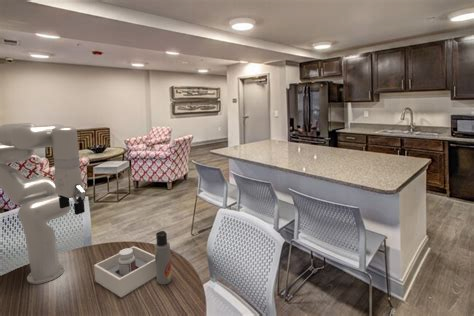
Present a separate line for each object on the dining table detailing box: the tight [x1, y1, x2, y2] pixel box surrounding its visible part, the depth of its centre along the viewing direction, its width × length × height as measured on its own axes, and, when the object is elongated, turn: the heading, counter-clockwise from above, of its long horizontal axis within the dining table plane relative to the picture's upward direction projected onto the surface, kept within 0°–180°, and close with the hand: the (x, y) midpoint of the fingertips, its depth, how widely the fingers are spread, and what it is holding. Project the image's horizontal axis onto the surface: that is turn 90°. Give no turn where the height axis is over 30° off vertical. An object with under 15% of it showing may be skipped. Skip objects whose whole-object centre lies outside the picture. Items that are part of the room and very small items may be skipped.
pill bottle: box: [118, 247, 136, 277], centre depth 113 cm, size 6×6×11 cm
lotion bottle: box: [153, 230, 173, 285], centre depth 110 cm, size 6×6×20 cm
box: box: [93, 245, 157, 298], centre depth 114 cm, size 17×18×7 cm
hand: (72, 210), depth 102 cm, fingers open, 9 cm apart
